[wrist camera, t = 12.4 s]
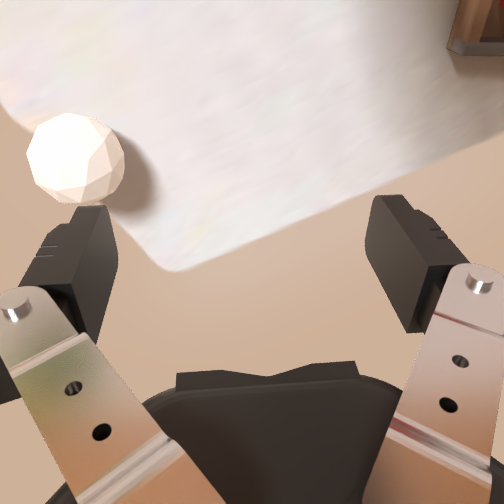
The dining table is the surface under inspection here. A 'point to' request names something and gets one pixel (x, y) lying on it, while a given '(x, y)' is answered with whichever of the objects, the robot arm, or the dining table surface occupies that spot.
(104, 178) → the geometric ball
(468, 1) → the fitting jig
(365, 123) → the dining table surface
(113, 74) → the dining table surface
